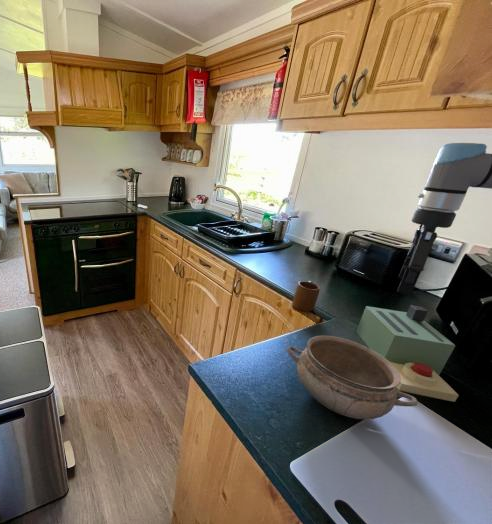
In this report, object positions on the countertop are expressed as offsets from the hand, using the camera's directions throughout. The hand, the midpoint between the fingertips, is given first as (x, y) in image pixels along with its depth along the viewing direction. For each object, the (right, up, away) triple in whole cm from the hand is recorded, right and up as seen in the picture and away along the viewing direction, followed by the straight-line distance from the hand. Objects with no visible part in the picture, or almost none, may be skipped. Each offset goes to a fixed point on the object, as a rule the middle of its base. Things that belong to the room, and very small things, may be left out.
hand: (403, 285), depth 80 cm
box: (-1, -26, -4) cm, 26 cm away
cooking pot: (-27, -27, -11) cm, 40 cm away
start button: (0, -22, -5) cm, 23 cm away
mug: (-9, -11, +34) cm, 37 cm away
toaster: (+5, -21, +9) cm, 23 cm away
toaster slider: (+11, -11, +8) cm, 17 cm away
